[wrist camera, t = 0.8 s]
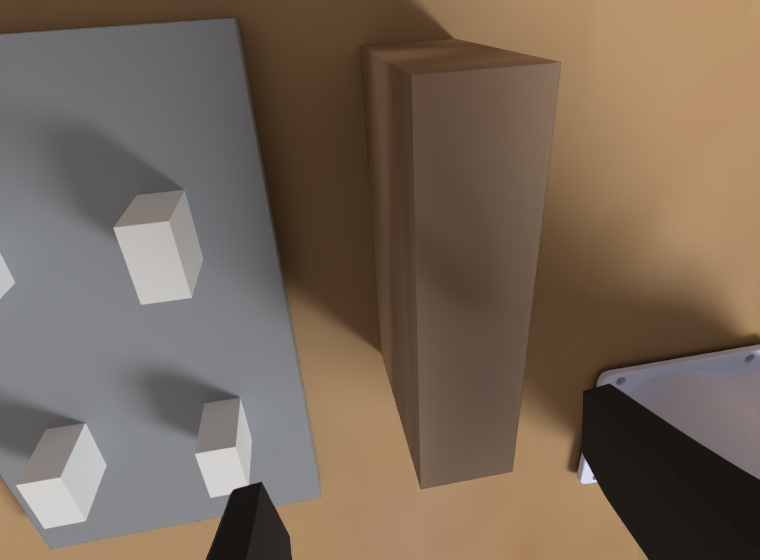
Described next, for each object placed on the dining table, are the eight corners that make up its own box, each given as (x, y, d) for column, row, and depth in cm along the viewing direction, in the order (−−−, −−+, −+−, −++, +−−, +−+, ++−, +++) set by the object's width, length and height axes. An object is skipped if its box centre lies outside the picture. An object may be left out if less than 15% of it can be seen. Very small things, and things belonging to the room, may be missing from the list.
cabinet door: (477, 36, 16) (599, 59, 10) (465, 338, 22) (536, 467, 16) (359, 45, 15) (411, 75, 9) (380, 351, 21) (420, 489, 15)
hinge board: (237, 17, 14) (225, 22, 11) (319, 476, 24) (325, 548, 21) (-237, 49, 13) (-410, 66, 9) (60, 524, 23) (25, 609, 20)
